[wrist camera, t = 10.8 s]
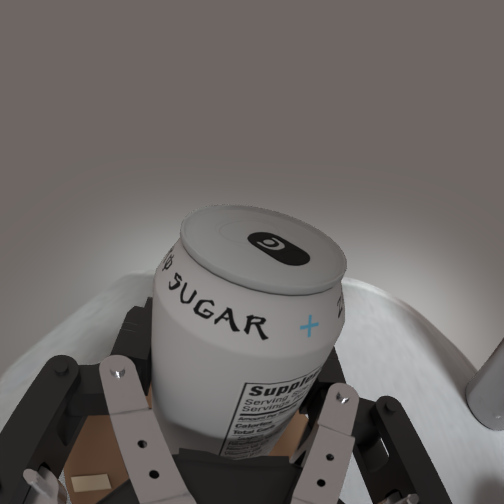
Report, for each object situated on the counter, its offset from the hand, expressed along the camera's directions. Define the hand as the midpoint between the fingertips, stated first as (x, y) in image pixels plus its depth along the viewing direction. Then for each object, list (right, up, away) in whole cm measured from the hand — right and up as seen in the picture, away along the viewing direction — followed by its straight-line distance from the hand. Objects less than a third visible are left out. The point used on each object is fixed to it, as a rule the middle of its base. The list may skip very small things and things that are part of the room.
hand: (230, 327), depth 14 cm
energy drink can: (-2, -9, +2) cm, 10 cm away
